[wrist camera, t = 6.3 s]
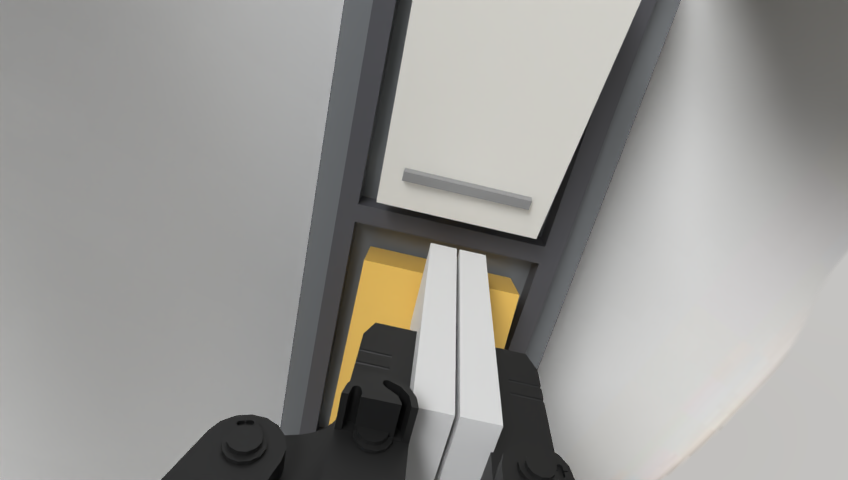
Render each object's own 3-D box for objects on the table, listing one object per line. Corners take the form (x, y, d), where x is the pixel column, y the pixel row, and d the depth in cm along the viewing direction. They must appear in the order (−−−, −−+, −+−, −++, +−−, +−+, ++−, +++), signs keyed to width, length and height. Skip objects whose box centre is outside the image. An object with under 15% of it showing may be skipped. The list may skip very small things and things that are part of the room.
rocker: (439, -112, 12) (430, -102, 10) (641, -59, 12) (662, -42, 11) (386, 170, 17) (374, 206, 15) (532, 204, 17) (536, 243, 15)
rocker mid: (370, 246, 18) (363, 261, 16) (510, 277, 18) (520, 297, 16) (327, 444, 19) (315, 481, 17) (456, 471, 19) (459, 511, 17)
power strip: (412, -279, 15) (395, -393, 11) (706, -199, 16) (803, -279, 11) (281, 515, 29) (250, 605, 25) (440, 547, 29) (438, 641, 25)
